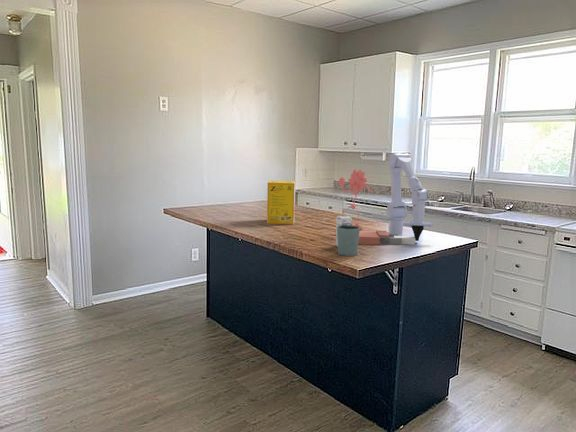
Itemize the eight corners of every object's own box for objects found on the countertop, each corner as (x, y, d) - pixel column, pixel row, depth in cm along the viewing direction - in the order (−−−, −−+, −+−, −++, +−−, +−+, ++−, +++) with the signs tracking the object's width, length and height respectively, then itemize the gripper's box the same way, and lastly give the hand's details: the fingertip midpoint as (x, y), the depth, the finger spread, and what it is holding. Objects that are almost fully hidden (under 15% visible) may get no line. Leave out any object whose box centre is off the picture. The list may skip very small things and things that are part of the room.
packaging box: (269, 219, 285) (269, 180, 281) (294, 220, 284) (295, 181, 280) (266, 223, 269) (267, 182, 265) (293, 224, 268) (294, 183, 264)
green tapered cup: (346, 257, 189) (347, 229, 188) (331, 252, 197) (332, 226, 196) (363, 254, 195) (364, 227, 193) (347, 249, 203) (348, 224, 202)
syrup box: (340, 248, 207) (341, 217, 204) (335, 245, 212) (336, 215, 210) (351, 247, 208) (352, 217, 206) (346, 244, 214) (347, 215, 212)
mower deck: (356, 237, 232) (356, 229, 232) (396, 238, 231) (397, 230, 230) (358, 243, 217) (359, 235, 216) (402, 245, 215) (402, 236, 215)
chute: (393, 241, 225) (393, 235, 224) (413, 242, 223) (414, 236, 223) (394, 243, 220) (394, 237, 219) (415, 244, 218) (415, 238, 218)
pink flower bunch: (363, 237, 231) (368, 170, 227) (329, 230, 251) (332, 168, 247) (383, 235, 241) (387, 170, 236) (348, 228, 261) (351, 168, 256)
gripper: (405, 214, 217) (403, 241, 219) (435, 215, 216) (433, 242, 218) (402, 212, 224) (400, 238, 226) (431, 213, 223) (429, 239, 225)
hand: (416, 240), depth 223 cm, fingers closed
